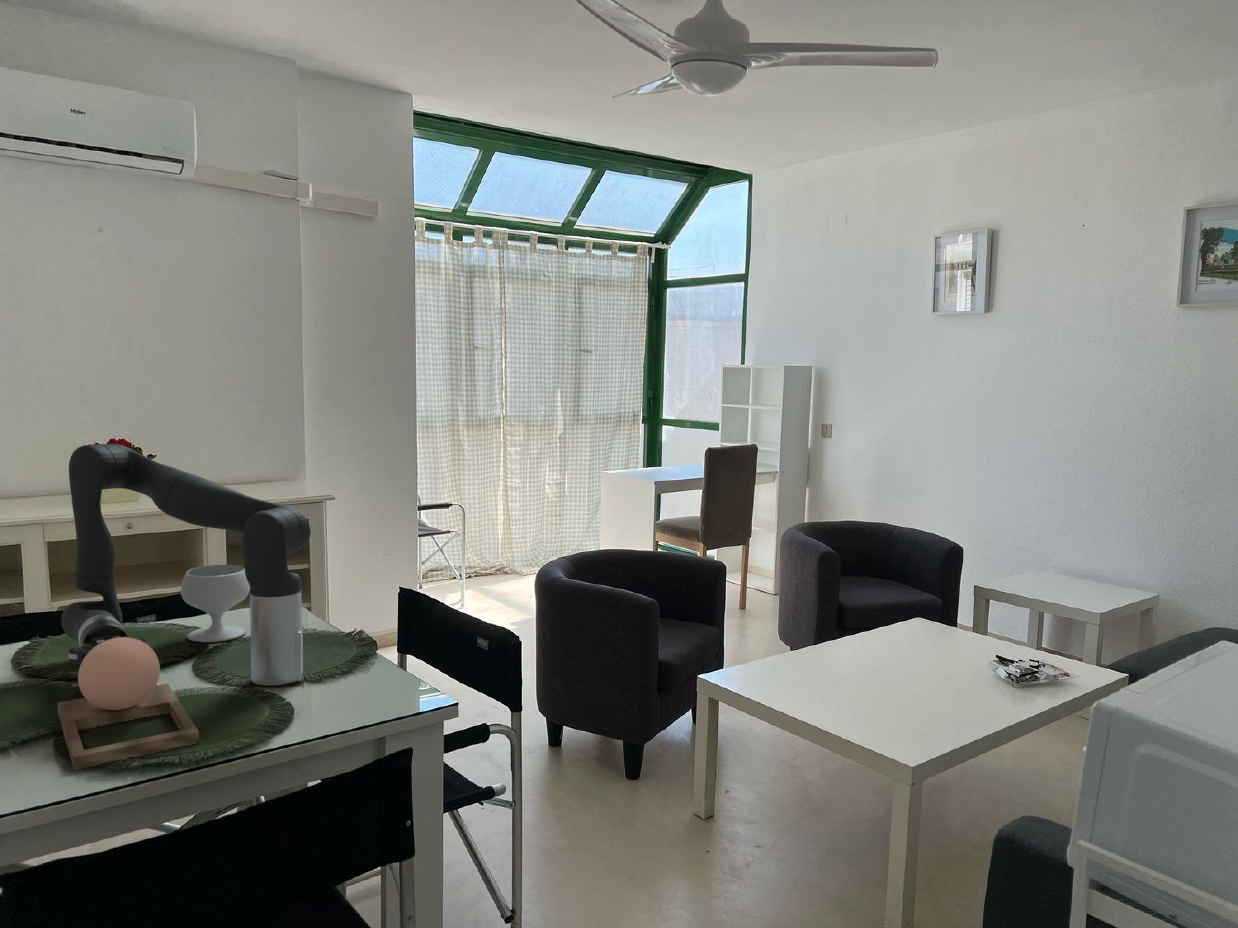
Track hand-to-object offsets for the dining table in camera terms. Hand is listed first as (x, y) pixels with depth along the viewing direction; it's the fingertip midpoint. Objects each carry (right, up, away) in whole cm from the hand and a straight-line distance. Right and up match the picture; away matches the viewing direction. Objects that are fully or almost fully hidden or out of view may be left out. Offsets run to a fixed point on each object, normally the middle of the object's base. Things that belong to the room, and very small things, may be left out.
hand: (115, 663), depth 151 cm
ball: (+4, -1, -5) cm, 6 cm away
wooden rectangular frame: (+6, -9, -8) cm, 13 cm away
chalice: (-2, -4, +43) cm, 44 cm away
